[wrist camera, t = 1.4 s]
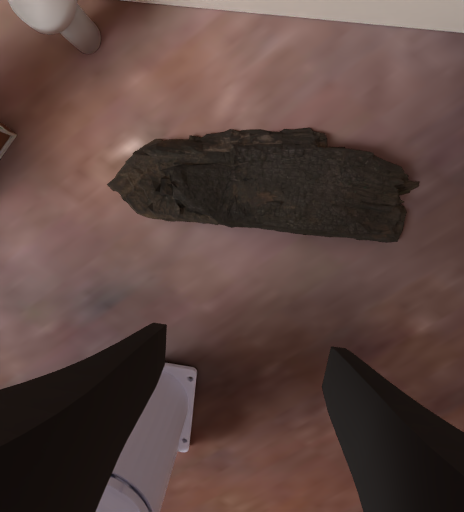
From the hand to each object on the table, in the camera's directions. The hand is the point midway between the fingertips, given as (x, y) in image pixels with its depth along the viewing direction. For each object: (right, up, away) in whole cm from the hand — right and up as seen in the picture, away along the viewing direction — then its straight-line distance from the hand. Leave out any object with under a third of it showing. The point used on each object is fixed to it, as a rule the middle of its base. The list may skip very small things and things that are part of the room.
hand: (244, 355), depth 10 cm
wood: (+2, +10, +8) cm, 13 cm away
